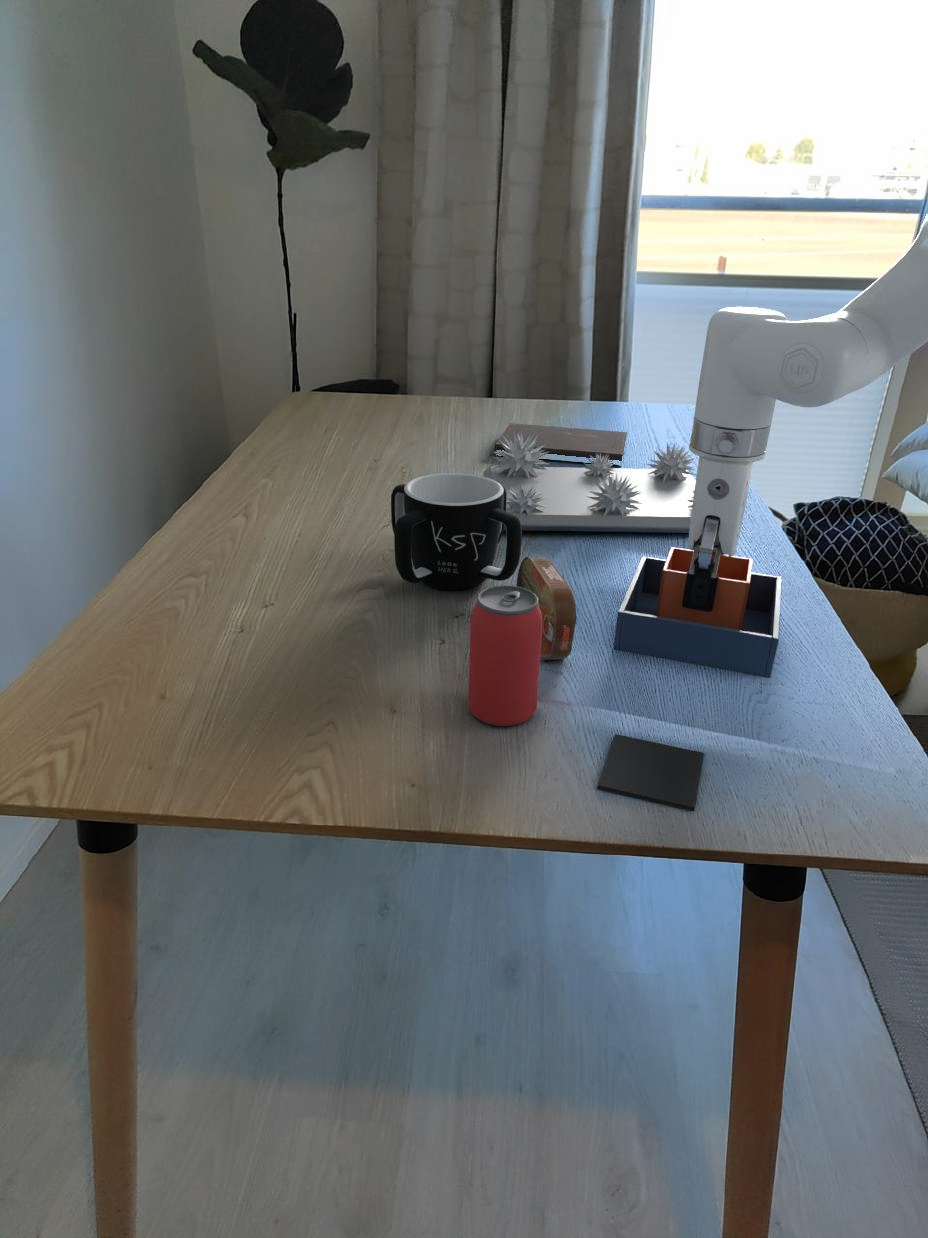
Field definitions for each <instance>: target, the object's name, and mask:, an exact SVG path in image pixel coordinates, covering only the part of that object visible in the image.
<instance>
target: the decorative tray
mask: <svg viewBox="0 0 928 1238" xmlns="http://www.w3.org/2000/svg"><path fill="white" fill-rule="evenodd" d="M533 434H534V433H533ZM503 437H504V436H503ZM529 437H530V435H529ZM529 437H528V439H527V440H526V442H525V443H523V436H522V431H521V436H520V437H519V433H518V439H517V438H516V435H515V431H514V444H513V442H512V441H511V440H510V442H509V441H508V440H507V439H506V438H505V437H504V439H505V441H506V442H507V444H508V446H509V447H508V446H506V445H505V444H504V443H502V442H501V441H499V442H500V443H501V445H502V446H503V447H504V449H505V450H506V452H507V453H504V452H497V451H495V450H494V451H493V453H494V454H495V453H496V454H499V455H501V456H503V457H501V456H491V458H492V459H495V460H497V461H499V462H502V463H500V464H498V465H490V466H489V467H488V468H486V469H485V470H484V471H483V472H482V474H483V475H482V476H483V477H486V478H489V479H492V480H494V481H496V482H498V483H499V484H501V485H503V486H504V487H505V490H506V512H509V513H511V514H514V515H516V516H517V517H518V518H519V520H520V522H521V526H522V531H547V532H549V531H551V532H604V533H605V532H608V533H609V532H611V533H612V532H614V533H621V532H622V533H669V534H670V533H673V534H674V533H675V534H677V533H679V534H689V530H690V519H691V510H692V502H693V495H694V488H695V481H696V477H694V476H695V474H693V473H692V472H690V471H695V468H694V467H693V466H689V465H690V464H692V463H695V462H696V461H697V459H696V458H690V457H691V456H693V453H691V454H689V452H690V450H688V451H686V452H685V450H686V448H687V446H685V445H683V446H682V447H681V448H680V449H679V446H676V442H674V444H673V445H672V446H673V447H672V449H671V446H670V445H669V443H668V442H666V452H665V451H664V450H662V449H661V448H660V447H659V446H656V447H657V449H658V450H659V452H660V453H659V452H658V451H654V454H655V455H656V457H657V458H658V459H659V460H656V459H649V458H648V459H647V460H648V461H649V462H650V461H651V462H652V463H646V465H647V466H649V467H650V468H622V467H621V468H617V467H616V468H615V467H614V466H613V465H615V464H613V463H610V462H612V461H613V460H612V461H609V462H608V460H609V459H610V458H609V459H608V460H607V458H608V456H609V455H608V456H607V455H606V456H607V458H606V456H605V457H604V455H603V457H602V459H601V453H600V457H599V455H598V456H597V453H596V460H595V459H594V458H592V457H593V456H592V457H591V456H590V457H591V458H592V460H593V461H591V460H590V459H589V458H588V459H589V461H590V462H591V464H585V463H583V464H584V465H586V466H584V467H565V466H564V467H561V466H542V465H549V463H547V462H544V461H543V460H538V459H537V458H539V457H541V456H543V455H545V454H546V453H548V452H545V453H541V452H543V451H544V450H541V451H539V450H540V449H541V448H543V447H544V446H545V445H544V446H541V447H538V448H536V449H533V448H534V447H535V445H536V443H537V441H536V442H535V440H536V438H537V437H536V438H535V439H534V440H533V441H532V443H531V444H530V442H531V439H532V437H533V435H532V436H531V437H530V439H529ZM684 452H685V453H684ZM688 454H689V455H688ZM605 458H606V459H605ZM653 463H654V464H653ZM611 464H612V465H611ZM504 531H506V526H505V527H504Z"/></svg>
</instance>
